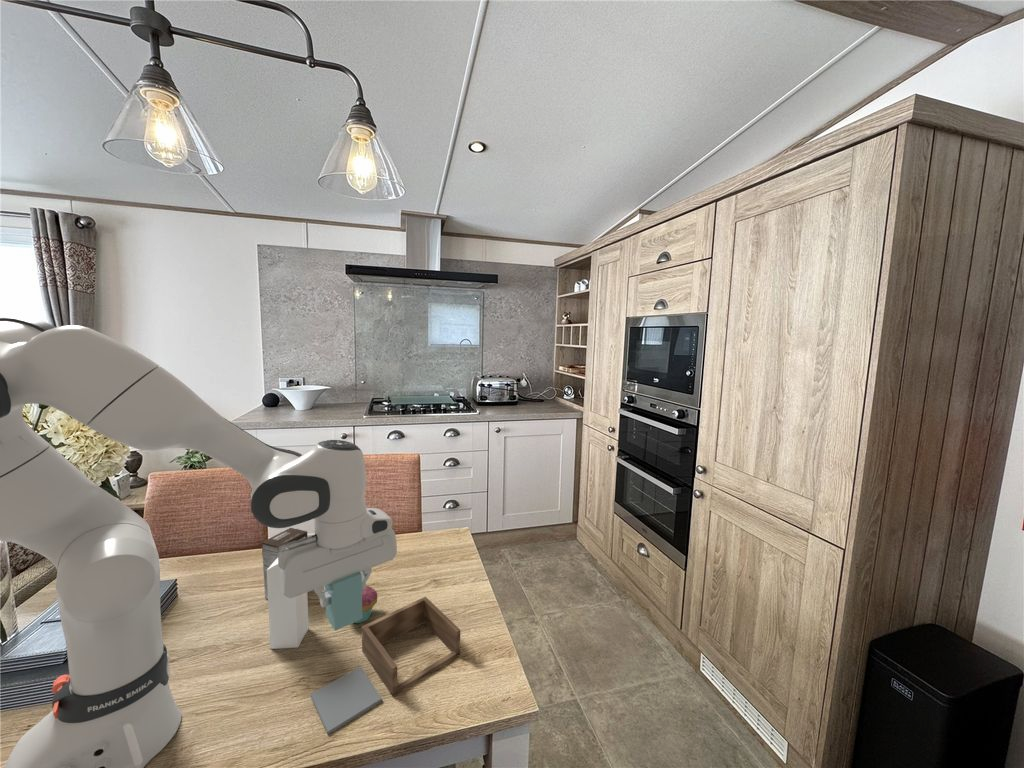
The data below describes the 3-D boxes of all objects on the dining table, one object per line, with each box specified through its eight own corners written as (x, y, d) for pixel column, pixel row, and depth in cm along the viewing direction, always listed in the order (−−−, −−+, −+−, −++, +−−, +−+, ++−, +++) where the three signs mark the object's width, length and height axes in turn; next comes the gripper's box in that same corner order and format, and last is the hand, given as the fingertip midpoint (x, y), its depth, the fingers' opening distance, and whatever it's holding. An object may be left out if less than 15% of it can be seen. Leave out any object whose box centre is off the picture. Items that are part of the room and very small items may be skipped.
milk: (270, 649, 89) (264, 556, 86) (282, 629, 95) (277, 542, 92) (298, 647, 90) (294, 555, 87) (309, 628, 96) (305, 541, 93)
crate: (392, 696, 78) (392, 668, 77) (362, 651, 89) (361, 626, 88) (460, 654, 89) (460, 629, 88) (425, 618, 100) (425, 596, 99)
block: (335, 631, 72) (333, 584, 71) (325, 616, 76) (324, 571, 74) (362, 618, 75) (361, 573, 74) (352, 604, 79) (351, 562, 78)
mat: (327, 734, 70) (327, 731, 70) (310, 696, 78) (310, 693, 78) (381, 701, 77) (381, 698, 77) (361, 668, 84) (361, 666, 84)
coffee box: (293, 579, 114) (291, 526, 112) (310, 585, 112) (308, 530, 110) (263, 599, 106) (260, 541, 104) (281, 605, 103) (279, 546, 102)
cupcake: (365, 631, 95) (364, 584, 94) (333, 625, 97) (332, 579, 95) (383, 607, 103) (383, 564, 102) (354, 602, 105) (353, 559, 104)
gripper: (282, 554, 64) (285, 633, 66) (400, 517, 78) (400, 583, 79) (273, 538, 69) (276, 613, 70) (386, 506, 82) (386, 569, 84)
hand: (343, 597), depth 75 cm, fingers closed on block, 5 cm apart
